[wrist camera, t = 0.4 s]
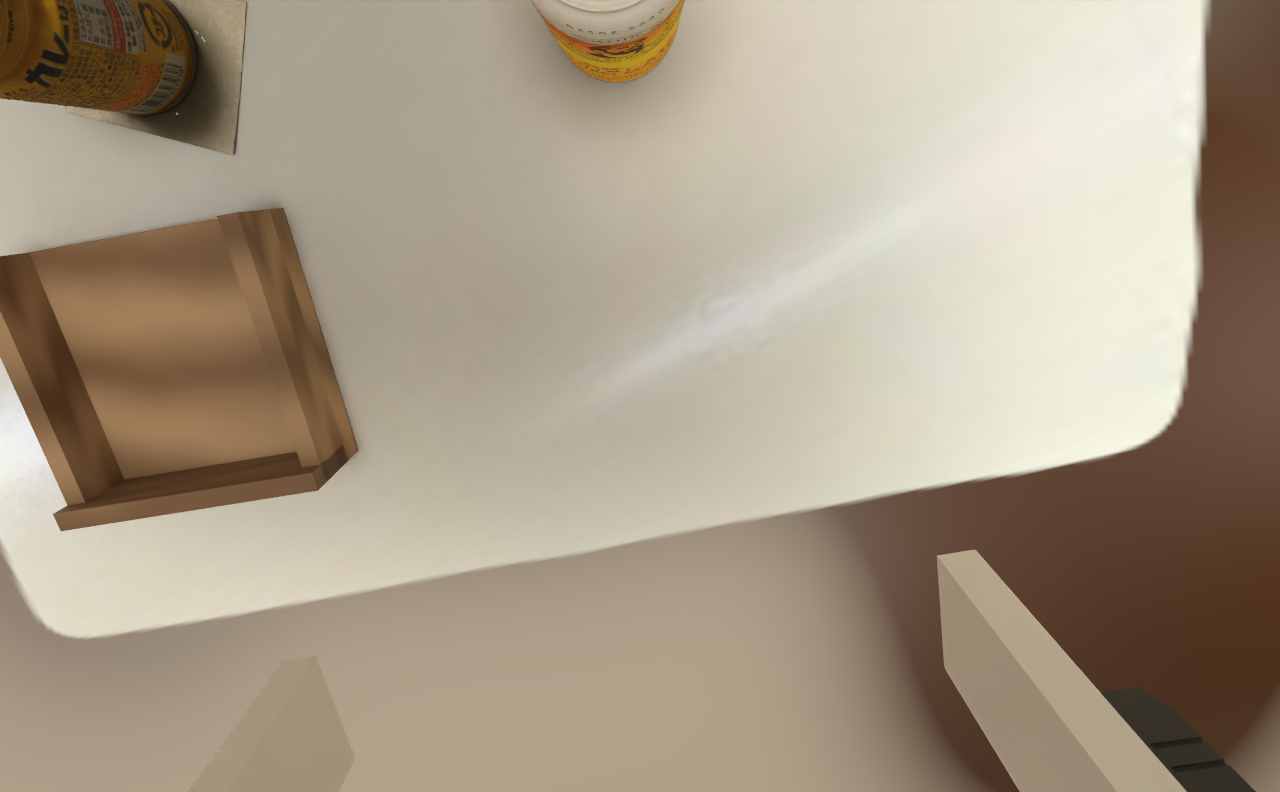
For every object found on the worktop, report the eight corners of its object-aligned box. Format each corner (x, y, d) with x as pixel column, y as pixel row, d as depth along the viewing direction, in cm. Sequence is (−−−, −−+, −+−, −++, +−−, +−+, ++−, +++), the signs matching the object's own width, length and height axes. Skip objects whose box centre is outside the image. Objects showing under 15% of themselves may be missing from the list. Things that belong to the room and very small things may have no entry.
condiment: (70, -45, 34) (-216, -155, 23) (248, 3, 35) (56, -80, 23) (69, 112, 36) (-194, 85, 25) (236, 155, 37) (55, 147, 26)
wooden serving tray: (33, 252, 38) (-62, 265, 33) (283, 208, 38) (225, 213, 32) (132, 486, 43) (61, 531, 37) (358, 450, 42) (318, 490, 37)
